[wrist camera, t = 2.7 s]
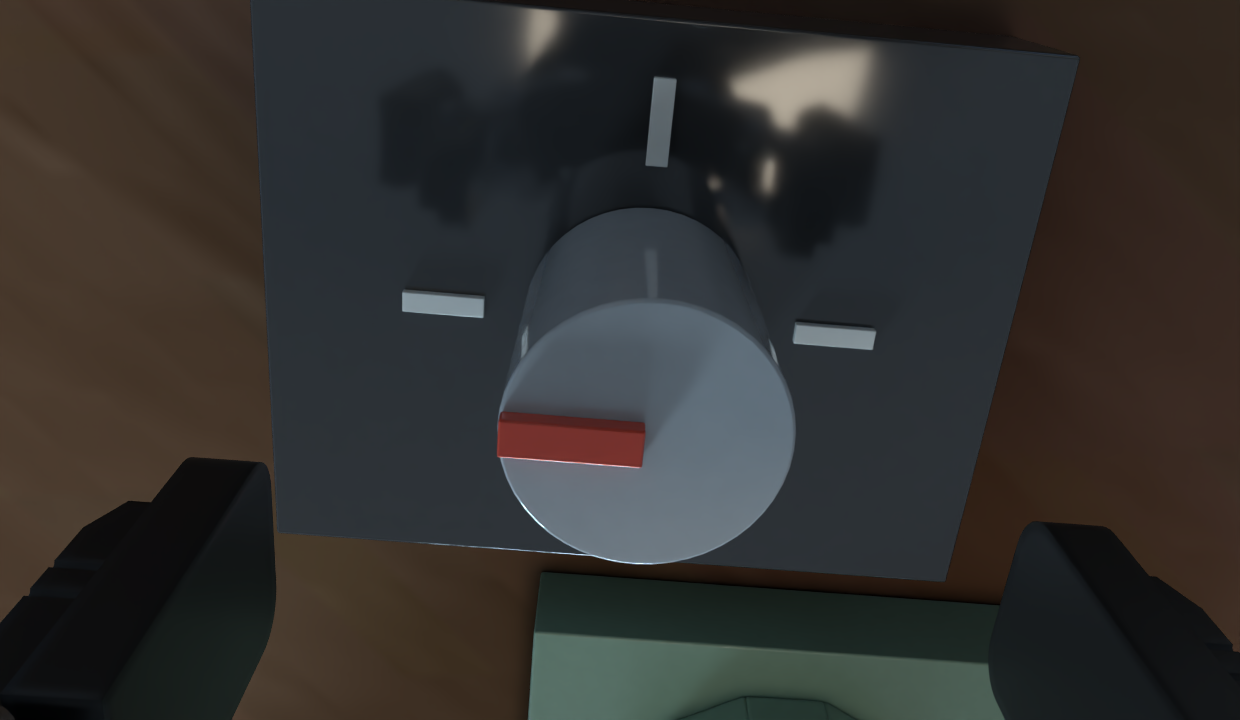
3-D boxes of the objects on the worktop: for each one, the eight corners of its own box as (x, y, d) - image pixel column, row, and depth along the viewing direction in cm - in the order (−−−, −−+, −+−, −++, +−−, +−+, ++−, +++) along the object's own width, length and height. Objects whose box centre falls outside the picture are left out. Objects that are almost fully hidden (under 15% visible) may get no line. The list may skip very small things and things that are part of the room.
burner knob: (771, 217, 17) (824, 321, 13) (739, 430, 19) (776, 588, 14) (531, 196, 17) (500, 294, 12) (519, 413, 18) (488, 568, 14)
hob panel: (1014, 36, 19) (1087, 56, 16) (906, 503, 23) (948, 588, 20) (303, -31, 18) (244, -22, 15) (318, 458, 22) (273, 538, 19)
